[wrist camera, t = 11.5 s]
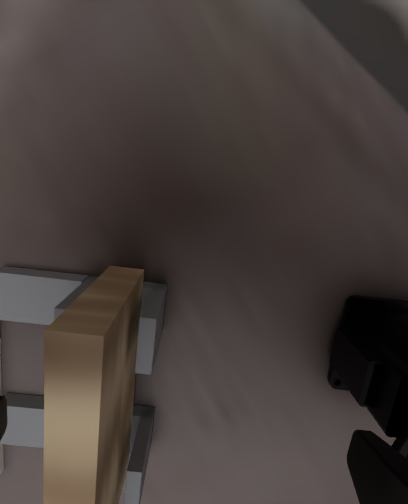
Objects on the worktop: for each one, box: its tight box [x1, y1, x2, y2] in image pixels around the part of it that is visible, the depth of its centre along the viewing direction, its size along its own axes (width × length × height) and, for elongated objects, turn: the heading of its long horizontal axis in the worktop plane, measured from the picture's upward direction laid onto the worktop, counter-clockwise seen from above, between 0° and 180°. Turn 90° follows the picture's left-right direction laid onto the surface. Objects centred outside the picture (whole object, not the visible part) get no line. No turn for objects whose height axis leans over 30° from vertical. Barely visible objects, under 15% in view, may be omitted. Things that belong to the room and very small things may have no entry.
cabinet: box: [0, 266, 167, 504], centre depth 19 cm, size 15×16×5 cm
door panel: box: [43, 266, 144, 504], centre depth 16 cm, size 14×2×8 cm, turn 173°
